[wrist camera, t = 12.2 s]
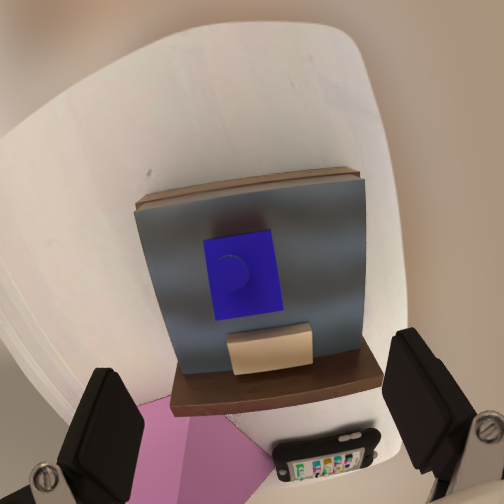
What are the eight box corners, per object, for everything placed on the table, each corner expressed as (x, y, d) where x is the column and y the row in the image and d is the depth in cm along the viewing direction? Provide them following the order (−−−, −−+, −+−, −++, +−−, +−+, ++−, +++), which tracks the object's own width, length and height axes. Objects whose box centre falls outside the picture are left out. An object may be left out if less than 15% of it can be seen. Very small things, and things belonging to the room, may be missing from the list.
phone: (269, 440, 36) (272, 466, 32) (377, 415, 36) (387, 438, 32) (278, 471, 40) (281, 493, 36) (369, 450, 40) (377, 470, 36)
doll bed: (145, 194, 23) (101, 230, 15) (346, 166, 23) (401, 187, 15) (186, 346, 29) (174, 417, 21) (348, 322, 29) (381, 386, 21)
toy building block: (267, 241, 21) (273, 218, 13) (277, 303, 21) (290, 317, 13) (215, 249, 21) (190, 232, 13) (225, 311, 21) (205, 330, 13)
